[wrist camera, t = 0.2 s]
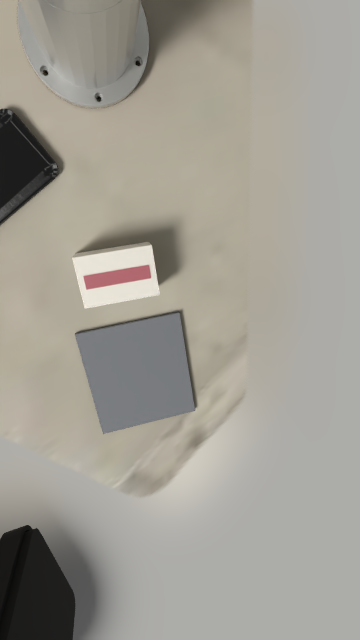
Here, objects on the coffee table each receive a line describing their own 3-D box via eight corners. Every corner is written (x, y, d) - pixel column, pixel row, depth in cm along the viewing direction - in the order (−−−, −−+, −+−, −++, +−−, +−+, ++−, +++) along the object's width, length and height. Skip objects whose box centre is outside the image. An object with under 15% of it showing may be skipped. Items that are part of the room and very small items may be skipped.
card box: (75, 253, 41) (72, 257, 37) (147, 241, 42) (151, 245, 38) (86, 299, 43) (84, 308, 39) (155, 287, 44) (159, 294, 40)
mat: (75, 333, 44) (75, 334, 43) (178, 311, 45) (179, 312, 45) (103, 431, 49) (103, 433, 49) (194, 408, 51) (195, 410, 51)
